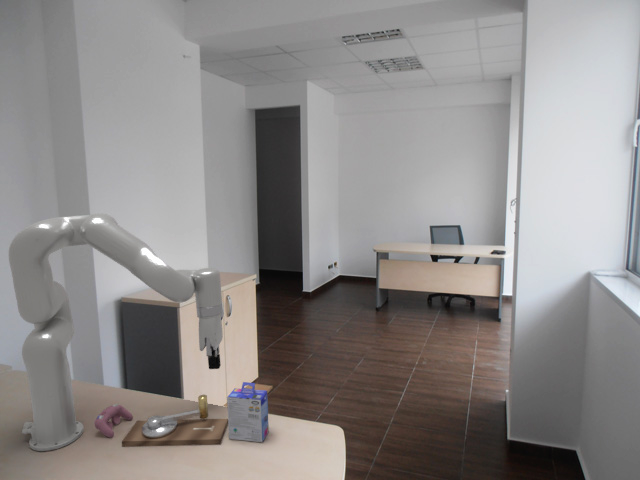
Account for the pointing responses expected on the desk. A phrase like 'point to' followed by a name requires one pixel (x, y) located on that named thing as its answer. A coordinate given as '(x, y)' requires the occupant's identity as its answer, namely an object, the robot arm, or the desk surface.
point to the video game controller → (113, 414)
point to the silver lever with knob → (172, 420)
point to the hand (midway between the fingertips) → (214, 367)
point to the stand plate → (181, 434)
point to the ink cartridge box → (248, 414)
